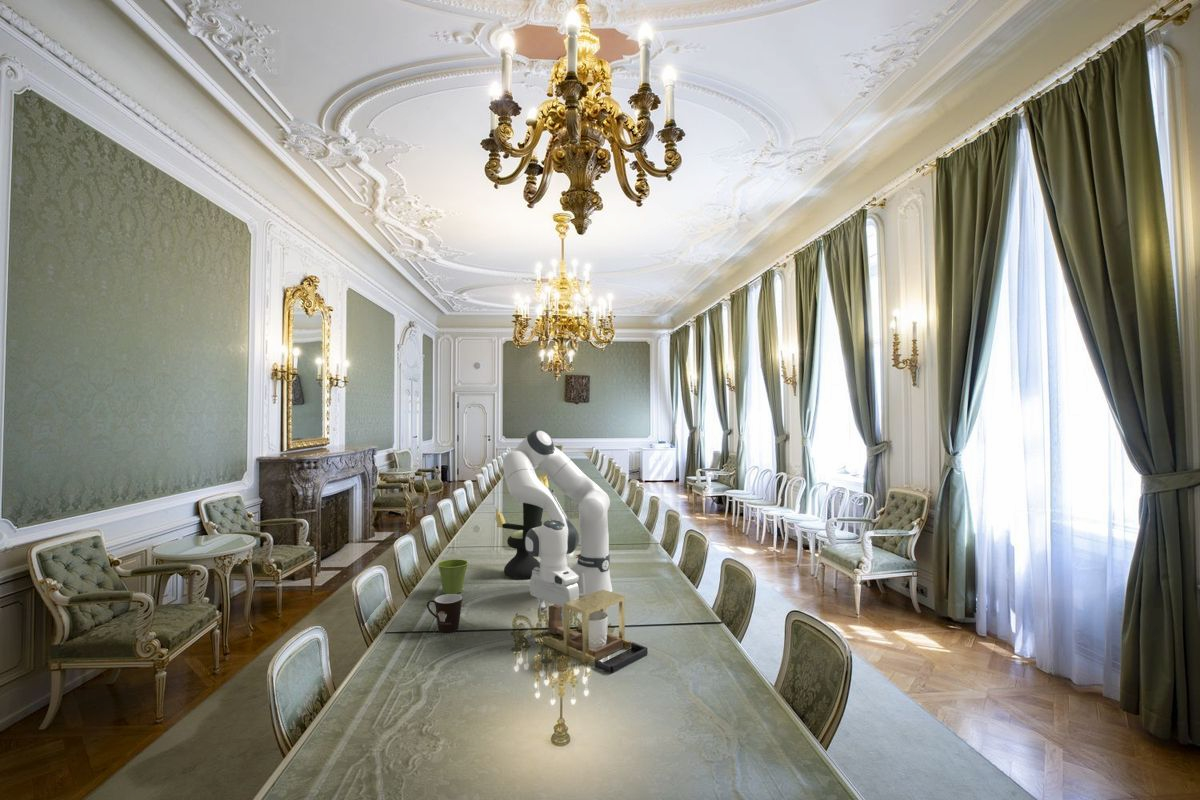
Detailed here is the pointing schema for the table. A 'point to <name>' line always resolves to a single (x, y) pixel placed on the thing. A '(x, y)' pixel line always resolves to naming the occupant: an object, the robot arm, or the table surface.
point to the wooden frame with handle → (580, 635)
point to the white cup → (597, 629)
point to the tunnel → (587, 607)
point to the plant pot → (452, 575)
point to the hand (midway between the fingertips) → (553, 615)
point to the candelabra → (522, 538)
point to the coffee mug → (447, 612)
